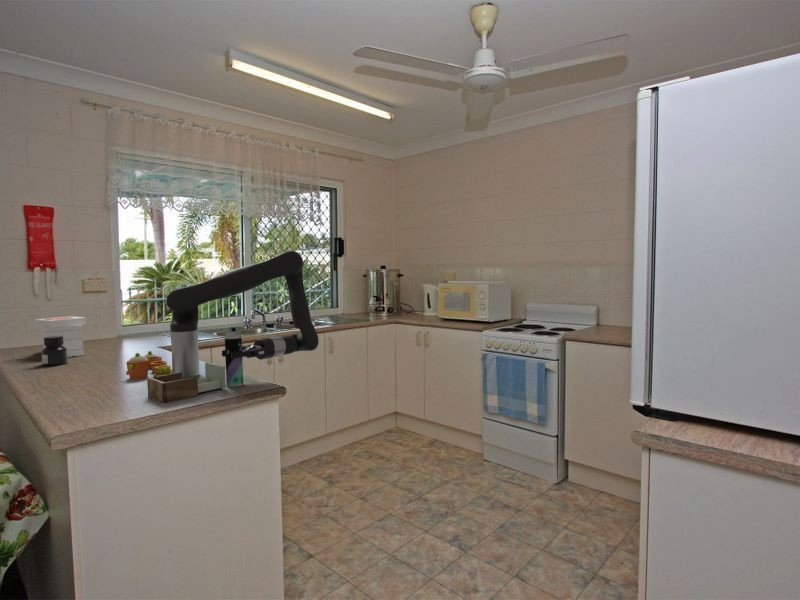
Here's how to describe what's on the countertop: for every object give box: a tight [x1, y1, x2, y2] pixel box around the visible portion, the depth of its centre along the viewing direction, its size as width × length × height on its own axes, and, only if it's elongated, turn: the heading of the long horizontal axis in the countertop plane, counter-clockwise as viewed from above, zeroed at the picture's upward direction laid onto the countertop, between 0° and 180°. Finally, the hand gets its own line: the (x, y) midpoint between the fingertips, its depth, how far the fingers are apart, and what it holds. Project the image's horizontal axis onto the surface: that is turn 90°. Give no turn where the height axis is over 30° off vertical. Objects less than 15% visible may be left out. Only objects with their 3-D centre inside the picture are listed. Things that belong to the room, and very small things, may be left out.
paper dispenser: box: [34, 315, 87, 358], centre depth 226 cm, size 19×30×18 cm, turn 39°
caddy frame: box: [146, 372, 199, 404], centre depth 146 cm, size 12×10×6 cm
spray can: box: [224, 327, 244, 388], centre depth 159 cm, size 6×6×20 cm
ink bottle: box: [41, 336, 69, 367], centre depth 201 cm, size 10×9×12 cm
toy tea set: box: [125, 350, 173, 380], centre depth 181 cm, size 26×16×10 cm, turn 36°
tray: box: [198, 361, 227, 394], centre depth 153 cm, size 12×10×7 cm
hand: (227, 354), depth 157 cm, fingers closed on spray can, 5 cm apart
